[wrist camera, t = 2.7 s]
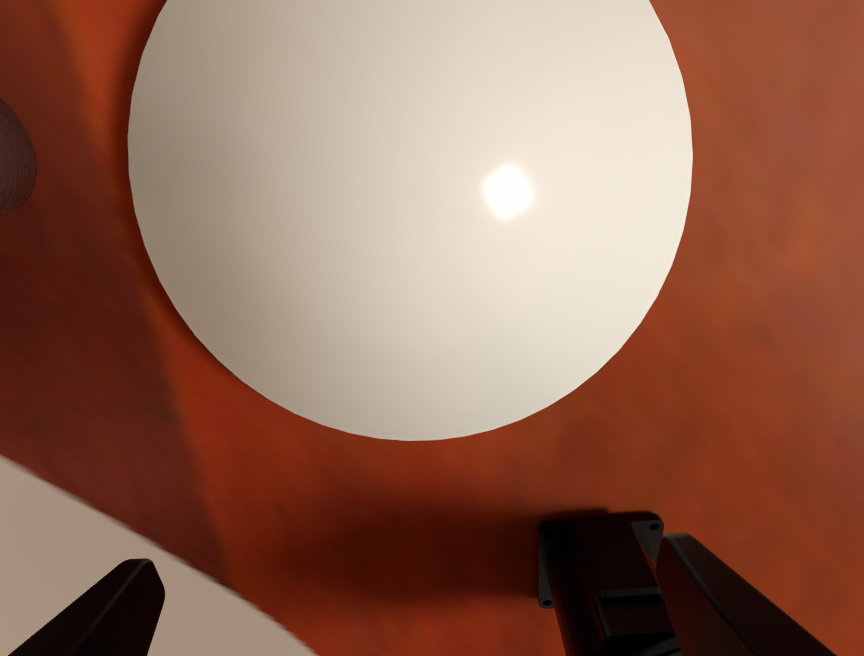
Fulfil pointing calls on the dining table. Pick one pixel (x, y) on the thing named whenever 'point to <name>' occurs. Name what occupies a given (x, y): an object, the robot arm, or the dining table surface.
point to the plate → (410, 197)
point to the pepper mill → (14, 161)
